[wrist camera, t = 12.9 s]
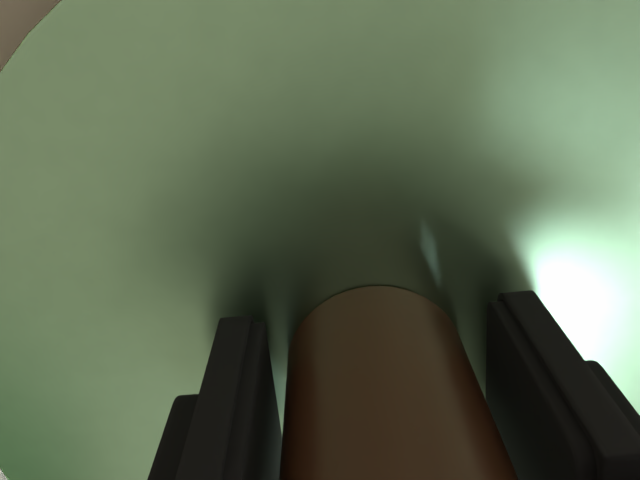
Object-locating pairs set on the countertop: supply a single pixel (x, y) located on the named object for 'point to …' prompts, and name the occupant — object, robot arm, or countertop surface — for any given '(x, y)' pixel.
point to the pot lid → (309, 219)
